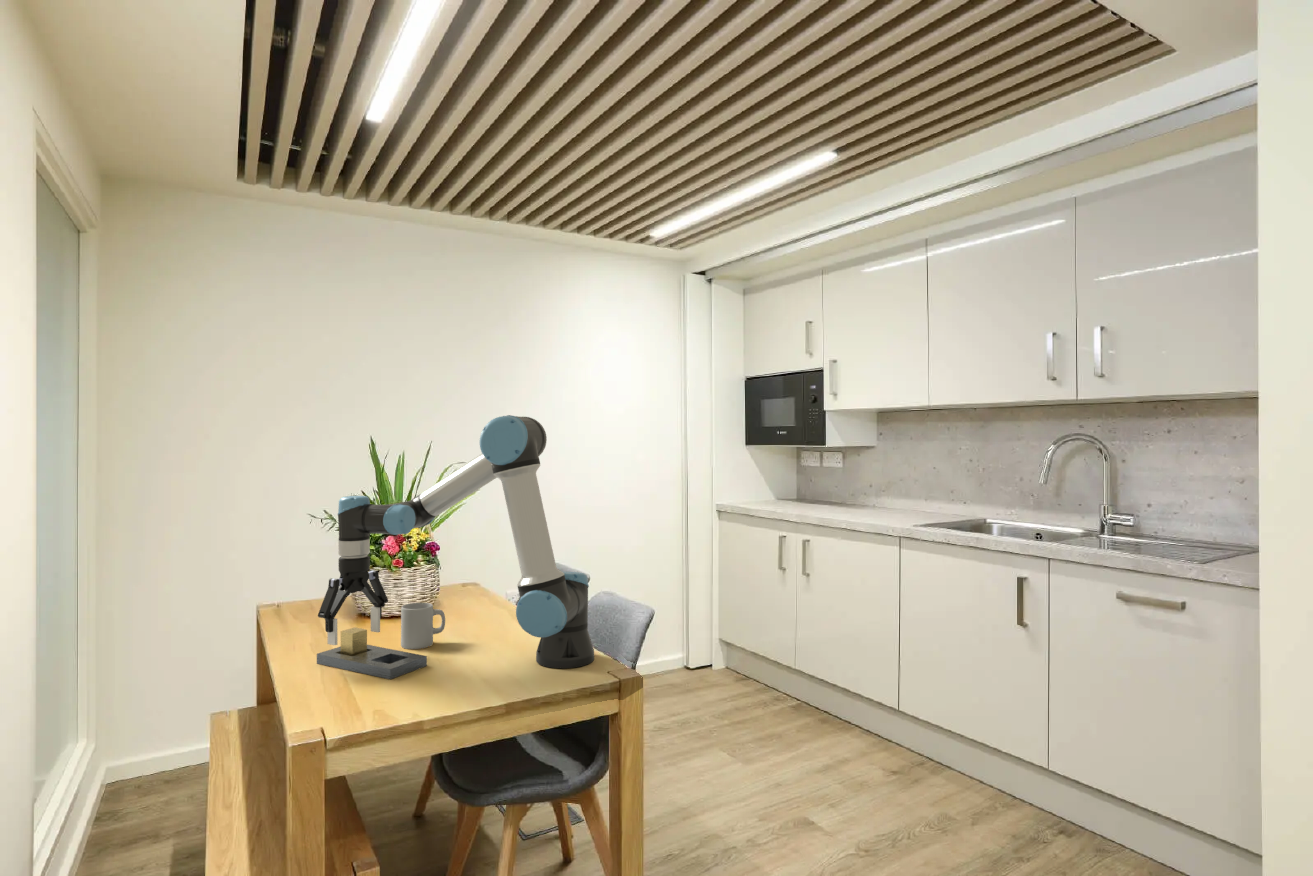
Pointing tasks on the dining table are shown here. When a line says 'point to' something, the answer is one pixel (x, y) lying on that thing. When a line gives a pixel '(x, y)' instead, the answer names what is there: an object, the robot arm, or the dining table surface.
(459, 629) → the dining table surface
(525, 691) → the dining table surface
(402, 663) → the square hole plate
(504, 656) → the dining table surface
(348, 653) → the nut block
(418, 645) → the mug
